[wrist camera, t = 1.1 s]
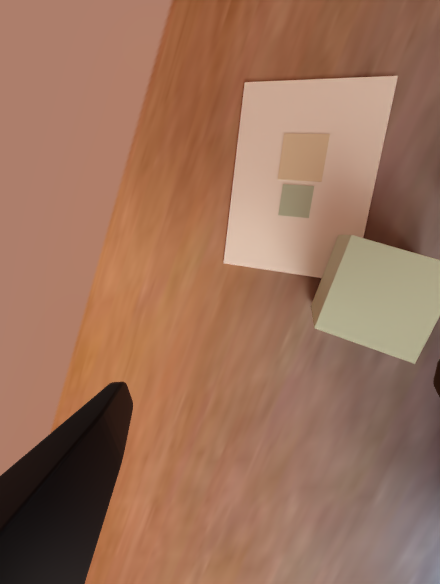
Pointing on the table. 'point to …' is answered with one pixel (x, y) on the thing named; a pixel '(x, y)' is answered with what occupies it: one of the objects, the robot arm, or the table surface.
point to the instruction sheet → (305, 169)
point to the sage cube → (378, 297)
